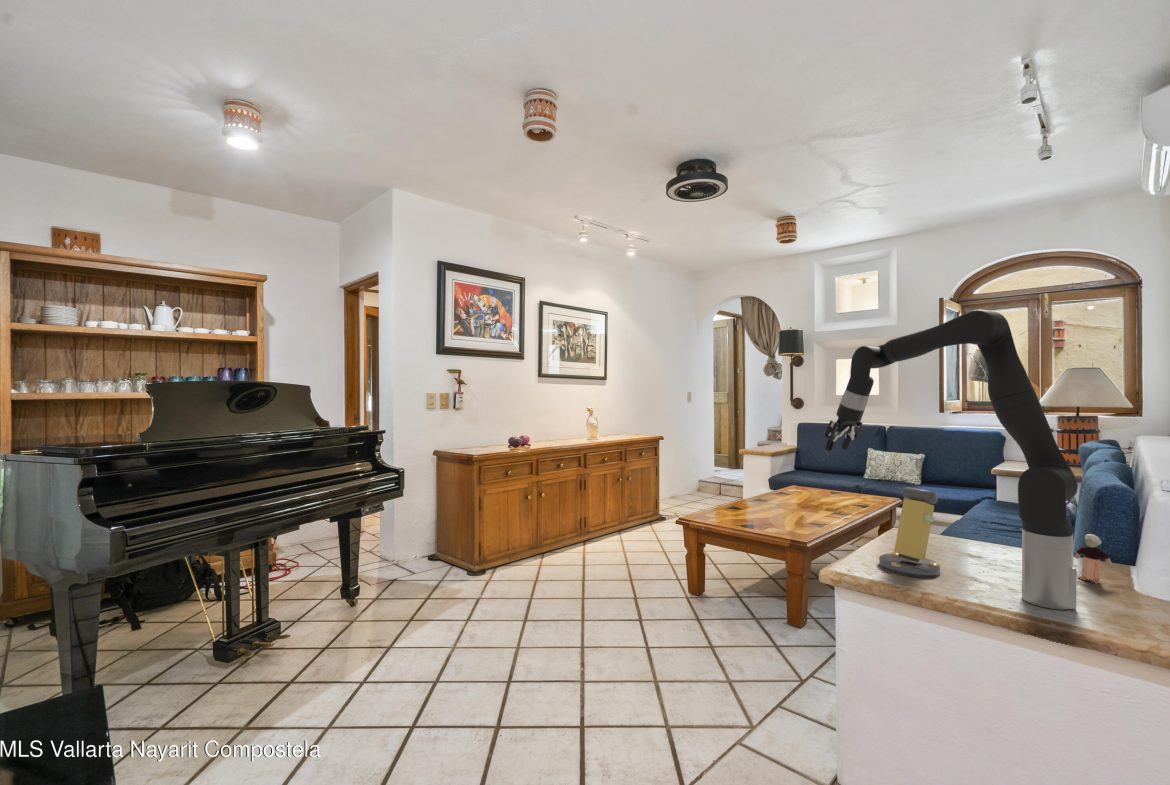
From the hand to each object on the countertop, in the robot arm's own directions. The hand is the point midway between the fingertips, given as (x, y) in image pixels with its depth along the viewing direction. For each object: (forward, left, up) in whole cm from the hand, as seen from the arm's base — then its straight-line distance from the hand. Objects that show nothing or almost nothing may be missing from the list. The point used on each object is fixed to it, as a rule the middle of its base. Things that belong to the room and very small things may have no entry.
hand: (836, 449), depth 178 cm
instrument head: (-17, +20, -28) cm, 39 cm away
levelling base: (-18, +20, -31) cm, 41 cm away
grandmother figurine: (-62, +14, -32) cm, 71 cm away
